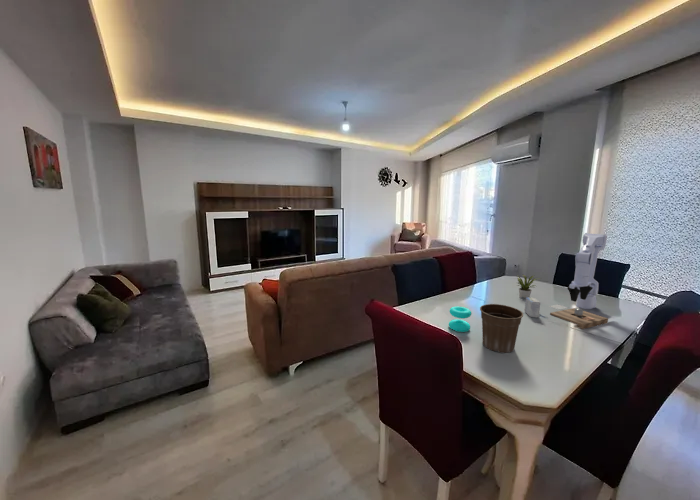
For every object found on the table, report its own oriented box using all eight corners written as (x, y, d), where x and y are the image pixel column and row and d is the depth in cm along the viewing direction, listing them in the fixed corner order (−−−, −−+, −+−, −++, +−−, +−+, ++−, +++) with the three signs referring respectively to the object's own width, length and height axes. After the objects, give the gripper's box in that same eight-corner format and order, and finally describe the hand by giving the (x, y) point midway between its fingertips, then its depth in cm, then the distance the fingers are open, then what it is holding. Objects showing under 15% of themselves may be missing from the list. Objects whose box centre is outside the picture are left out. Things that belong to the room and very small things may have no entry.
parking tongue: (557, 306, 170) (558, 304, 170) (568, 310, 165) (568, 307, 165) (548, 308, 168) (548, 306, 167) (559, 312, 162) (559, 309, 162)
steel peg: (576, 318, 154) (577, 307, 153) (583, 320, 150) (585, 309, 149) (571, 319, 153) (573, 308, 152) (578, 321, 149) (580, 310, 148)
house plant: (539, 297, 187) (542, 273, 184) (539, 304, 175) (542, 278, 173) (514, 294, 194) (516, 270, 192) (513, 299, 183) (515, 274, 180)
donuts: (476, 311, 137) (460, 314, 133) (474, 330, 138) (458, 334, 134) (460, 304, 146) (445, 307, 142) (459, 323, 147) (444, 326, 143)
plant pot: (500, 359, 113) (504, 320, 110) (468, 341, 128) (471, 306, 125) (528, 351, 119) (532, 314, 117) (495, 335, 134) (498, 301, 131)
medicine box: (539, 317, 154) (540, 302, 153) (529, 317, 155) (531, 301, 154) (532, 312, 162) (534, 297, 161) (524, 311, 163) (525, 297, 161)
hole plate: (574, 312, 162) (574, 307, 162) (607, 323, 147) (608, 318, 147) (549, 317, 155) (550, 312, 155) (582, 329, 140) (583, 323, 140)
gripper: (582, 272, 156) (578, 296, 158) (564, 274, 150) (561, 299, 153) (597, 275, 149) (593, 300, 151) (579, 277, 144) (575, 303, 146)
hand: (578, 300), depth 152 cm, fingers open, 7 cm apart
